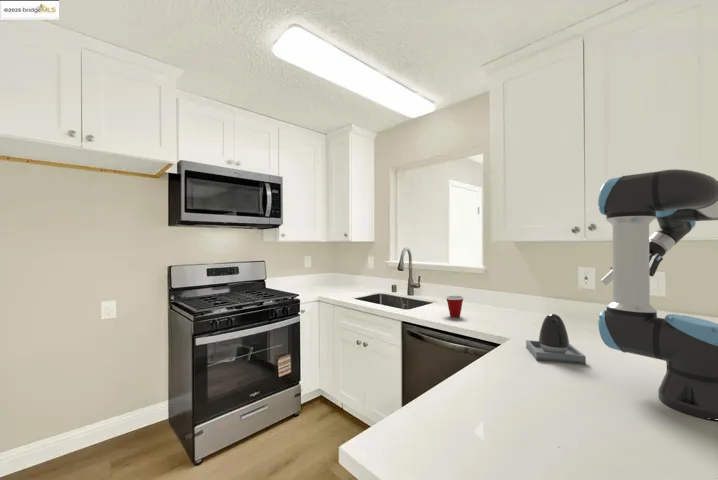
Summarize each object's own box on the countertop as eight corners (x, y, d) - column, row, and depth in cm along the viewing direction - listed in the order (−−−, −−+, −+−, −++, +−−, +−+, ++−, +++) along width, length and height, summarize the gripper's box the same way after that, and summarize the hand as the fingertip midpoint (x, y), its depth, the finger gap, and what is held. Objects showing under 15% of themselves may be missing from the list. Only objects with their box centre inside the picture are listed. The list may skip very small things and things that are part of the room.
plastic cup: (441, 315, 197) (441, 296, 197) (455, 313, 201) (455, 294, 201) (453, 319, 187) (453, 298, 187) (467, 317, 191) (467, 297, 192)
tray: (585, 364, 115) (585, 356, 115) (536, 360, 119) (536, 352, 119) (569, 350, 130) (569, 343, 130) (526, 347, 134) (526, 340, 134)
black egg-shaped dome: (539, 354, 122) (539, 315, 122) (538, 347, 131) (538, 310, 132) (571, 359, 117) (570, 318, 118) (567, 351, 126) (567, 312, 127)
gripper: (693, 254, 111) (648, 296, 112) (638, 253, 136) (601, 287, 137) (676, 239, 112) (631, 281, 113) (624, 240, 137) (588, 275, 138)
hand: (615, 284), depth 125 cm, fingers open, 13 cm apart
